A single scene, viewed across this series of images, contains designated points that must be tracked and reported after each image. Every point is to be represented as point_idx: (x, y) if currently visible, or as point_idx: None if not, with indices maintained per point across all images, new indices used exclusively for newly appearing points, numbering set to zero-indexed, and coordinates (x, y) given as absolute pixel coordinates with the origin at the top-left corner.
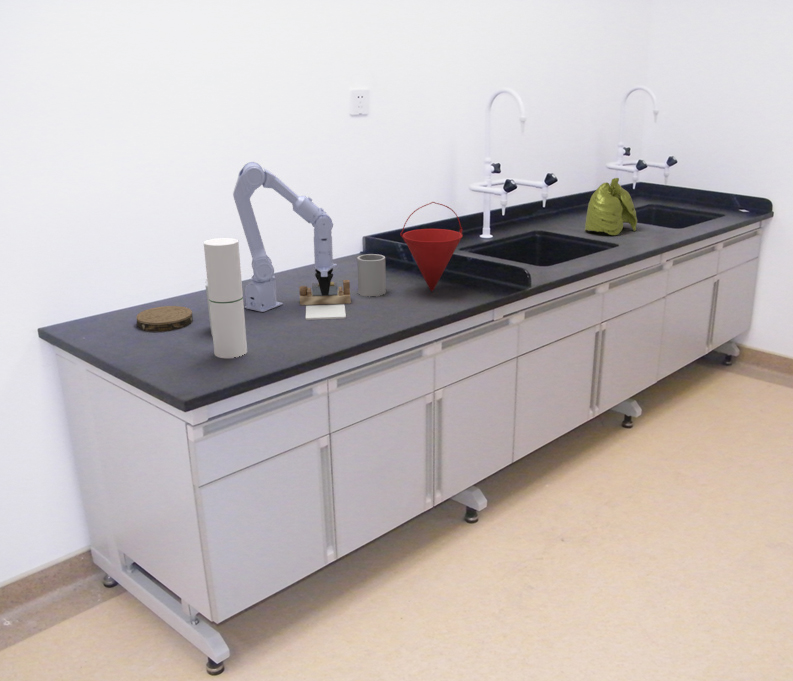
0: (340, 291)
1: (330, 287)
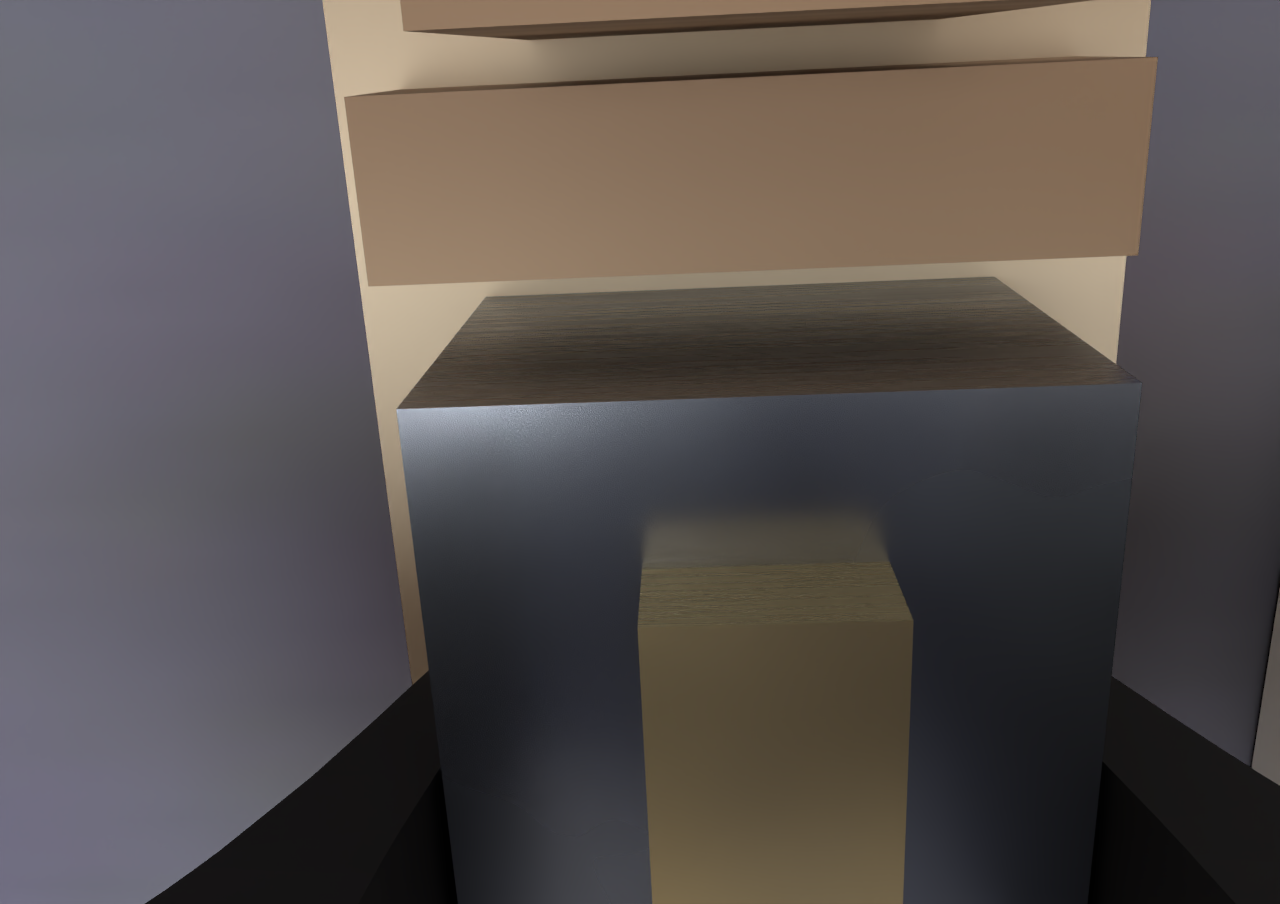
0: (1138, 173)
1: (1093, 709)
